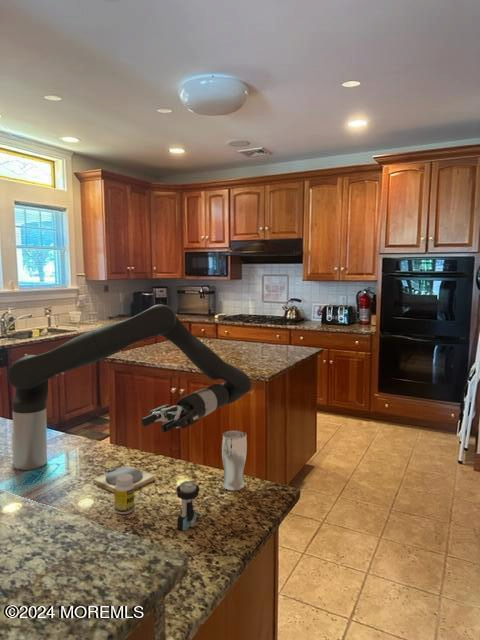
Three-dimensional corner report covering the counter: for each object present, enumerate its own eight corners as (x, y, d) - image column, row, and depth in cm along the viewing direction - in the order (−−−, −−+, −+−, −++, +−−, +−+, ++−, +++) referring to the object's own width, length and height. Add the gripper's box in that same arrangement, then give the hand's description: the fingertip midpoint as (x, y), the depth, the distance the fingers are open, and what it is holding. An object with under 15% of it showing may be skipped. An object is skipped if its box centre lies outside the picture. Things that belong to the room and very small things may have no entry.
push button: (187, 514, 108) (188, 475, 107) (206, 520, 106) (206, 480, 105) (171, 527, 102) (171, 486, 102) (190, 534, 100) (191, 492, 99)
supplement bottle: (128, 515, 107) (129, 482, 106) (111, 513, 108) (111, 480, 107) (137, 506, 112) (137, 474, 111) (120, 503, 113) (120, 472, 112)
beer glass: (249, 483, 126) (251, 432, 124) (239, 494, 119) (240, 440, 118) (227, 478, 128) (229, 428, 127) (216, 488, 122) (217, 436, 121)
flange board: (92, 482, 123) (92, 476, 123) (126, 468, 133) (126, 462, 133) (121, 495, 116) (121, 488, 116) (154, 479, 126) (154, 473, 126)
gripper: (179, 389, 130) (134, 408, 119) (213, 395, 121) (167, 416, 109) (183, 413, 132) (138, 434, 120) (216, 421, 122) (171, 445, 110)
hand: (152, 425), depth 115 cm, fingers open, 8 cm apart
